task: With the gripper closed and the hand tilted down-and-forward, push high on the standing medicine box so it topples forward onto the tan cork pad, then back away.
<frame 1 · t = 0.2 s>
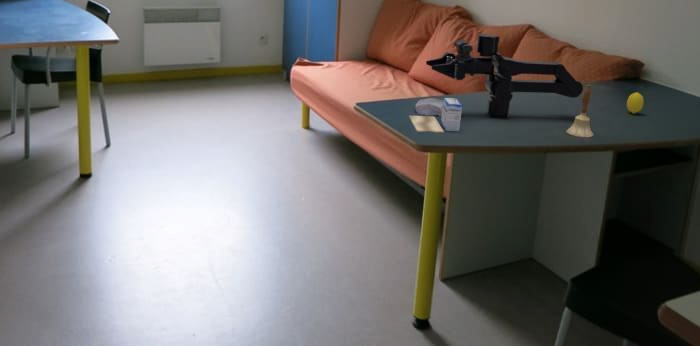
hand: (428, 65, 239), 16 cm above the table, tool horizontal, fingers open, 9 cm apart
cork pad: (425, 124, 231), on the table
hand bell: (579, 134, 233), on the table
lemon: (632, 114, 263), on the table
stone block: (429, 112, 248), on the table
medicine box: (449, 128, 230), on the table
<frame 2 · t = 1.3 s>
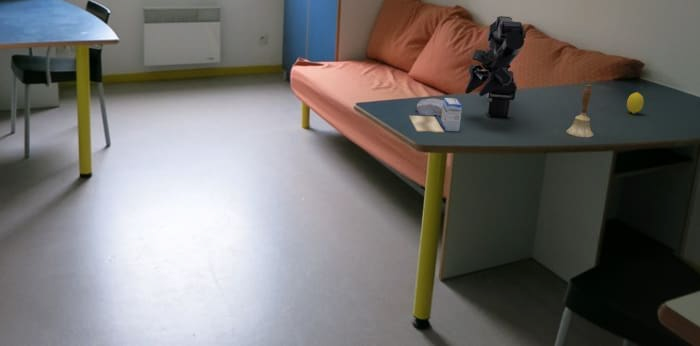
hand: (472, 94, 232), 10 cm above the table, tool tilted 45°, fingers open, 9 cm apart
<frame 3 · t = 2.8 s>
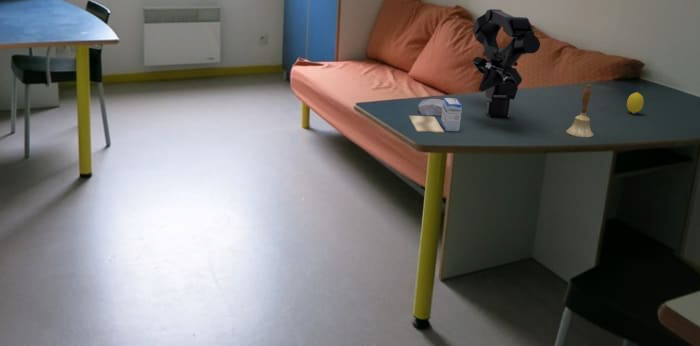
hand: (479, 90, 230), 11 cm above the table, tool tilted 45°, fingers closed
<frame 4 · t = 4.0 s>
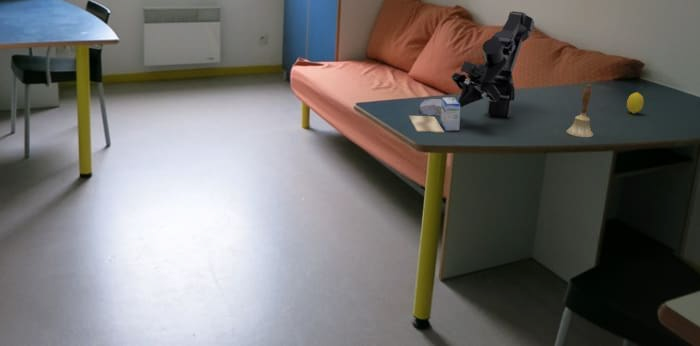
hand: (458, 106, 228), 7 cm above the table, tool tilted 45°, fingers closed
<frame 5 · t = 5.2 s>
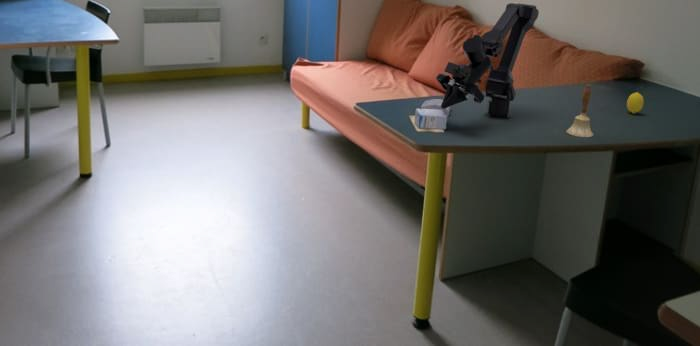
hand: (442, 107, 225), 7 cm above the table, tool tilted 45°, fingers closed
medicine box: (444, 119, 228), point 3 cm above the table, touching cork pad
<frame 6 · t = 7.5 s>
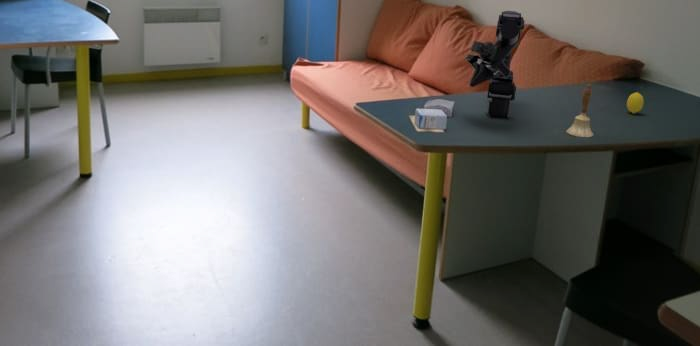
hand: (470, 86, 231), 12 cm above the table, tool tilted 40°, fingers closed
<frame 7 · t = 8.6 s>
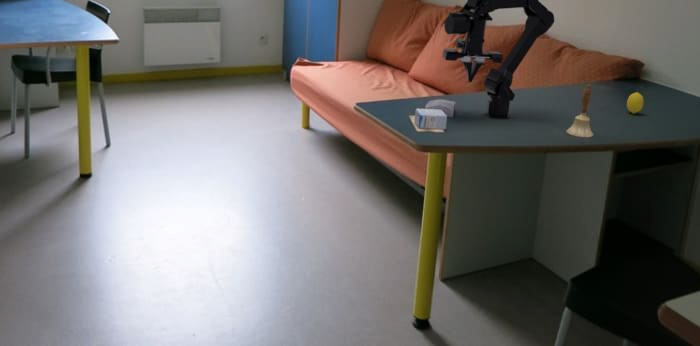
hand: (469, 82, 238), 12 cm above the table, tool pointing down, fingers closed
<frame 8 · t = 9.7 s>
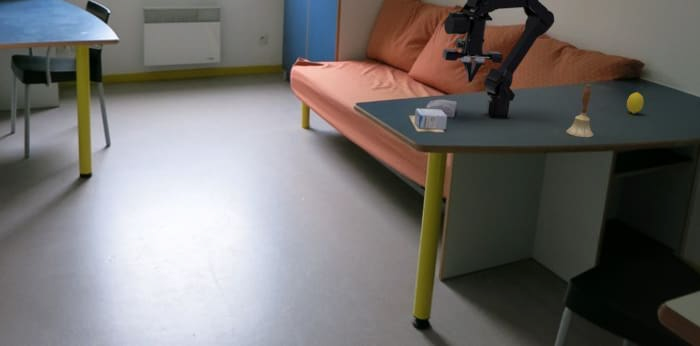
hand: (469, 82, 238), 12 cm above the table, tool pointing down, fingers closed
at the end: medicine box tilted 90°; medicine box inside the target area (5.1 cm from its centre), point 2.6 cm above the table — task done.
